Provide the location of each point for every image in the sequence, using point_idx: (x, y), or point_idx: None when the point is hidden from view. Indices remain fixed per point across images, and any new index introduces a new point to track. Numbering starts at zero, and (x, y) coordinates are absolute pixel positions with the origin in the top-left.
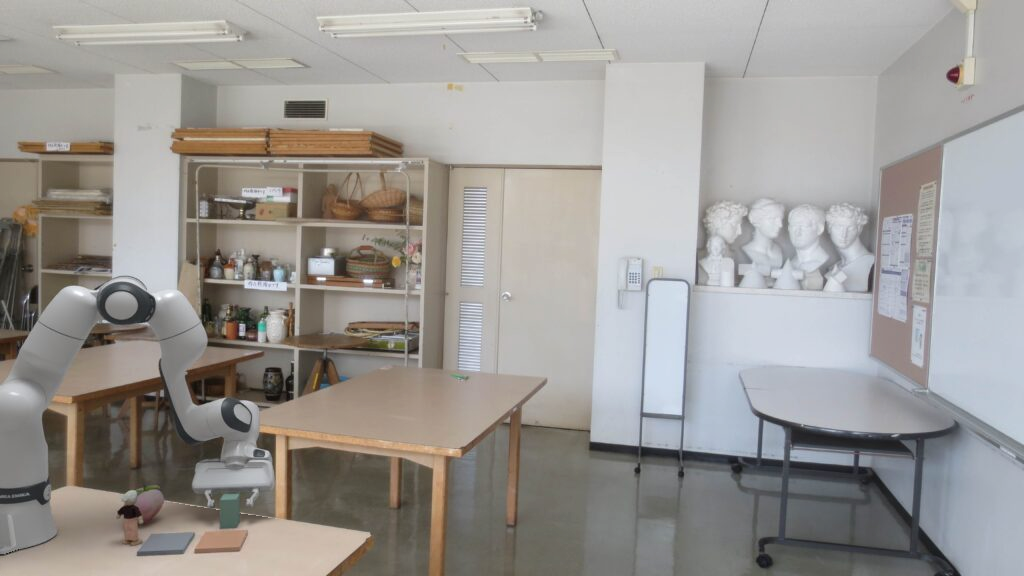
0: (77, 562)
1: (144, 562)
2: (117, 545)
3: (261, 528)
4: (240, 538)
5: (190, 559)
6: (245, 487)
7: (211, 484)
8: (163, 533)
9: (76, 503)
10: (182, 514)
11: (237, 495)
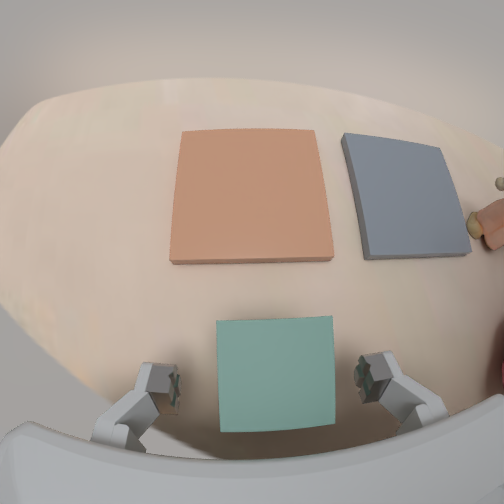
0: (495, 157)
1: (400, 121)
2: None
3: (131, 311)
4: (185, 184)
5: (306, 111)
6: (174, 458)
7: (441, 440)
8: (449, 252)
9: None
10: None
11: (227, 398)
